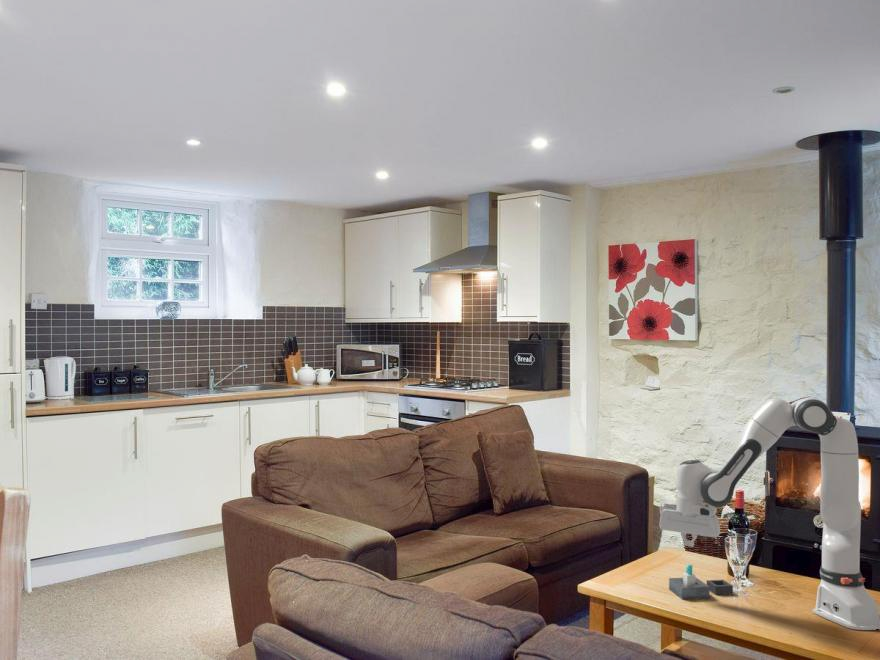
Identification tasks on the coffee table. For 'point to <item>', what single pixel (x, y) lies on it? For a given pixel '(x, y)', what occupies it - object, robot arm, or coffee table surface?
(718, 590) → the holster
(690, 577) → the plug
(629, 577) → the coffee table surface
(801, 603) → the coffee table surface
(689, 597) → the port block
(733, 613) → the coffee table surface
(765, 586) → the coffee table surface
